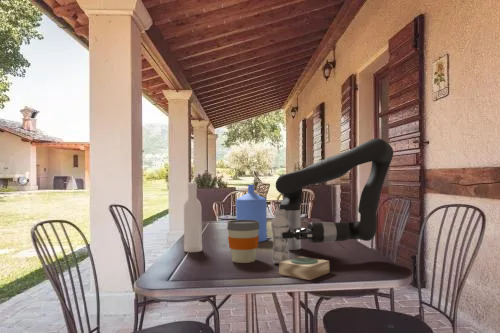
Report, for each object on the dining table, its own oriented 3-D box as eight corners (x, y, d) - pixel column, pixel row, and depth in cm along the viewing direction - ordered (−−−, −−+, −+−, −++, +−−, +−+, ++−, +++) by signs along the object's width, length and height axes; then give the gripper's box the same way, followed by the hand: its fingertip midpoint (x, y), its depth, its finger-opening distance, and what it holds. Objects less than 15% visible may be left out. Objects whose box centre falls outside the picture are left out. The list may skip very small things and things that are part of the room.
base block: (279, 274, 134) (278, 261, 134) (299, 267, 143) (299, 255, 143) (309, 280, 126) (309, 266, 127) (329, 272, 135) (329, 259, 136)
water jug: (267, 242, 197) (266, 185, 197) (235, 243, 197) (234, 185, 198) (266, 237, 212) (266, 184, 213) (236, 238, 213) (236, 184, 213)
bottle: (185, 253, 173) (184, 182, 174) (182, 249, 181) (181, 182, 181) (203, 251, 176) (203, 182, 176) (200, 248, 183) (199, 182, 184)
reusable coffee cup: (229, 264, 150) (228, 223, 150) (226, 257, 162) (225, 220, 162) (262, 263, 152) (262, 222, 152) (256, 256, 164) (256, 219, 164)
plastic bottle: (289, 265, 146) (288, 210, 147) (270, 265, 148) (269, 210, 148) (290, 262, 153) (290, 209, 153) (273, 261, 154) (272, 208, 154)
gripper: (315, 220, 160) (275, 221, 157) (328, 224, 146) (284, 226, 143) (316, 239, 160) (275, 240, 157) (328, 245, 146) (284, 247, 143)
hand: (280, 233), depth 150 cm, fingers open, 8 cm apart
